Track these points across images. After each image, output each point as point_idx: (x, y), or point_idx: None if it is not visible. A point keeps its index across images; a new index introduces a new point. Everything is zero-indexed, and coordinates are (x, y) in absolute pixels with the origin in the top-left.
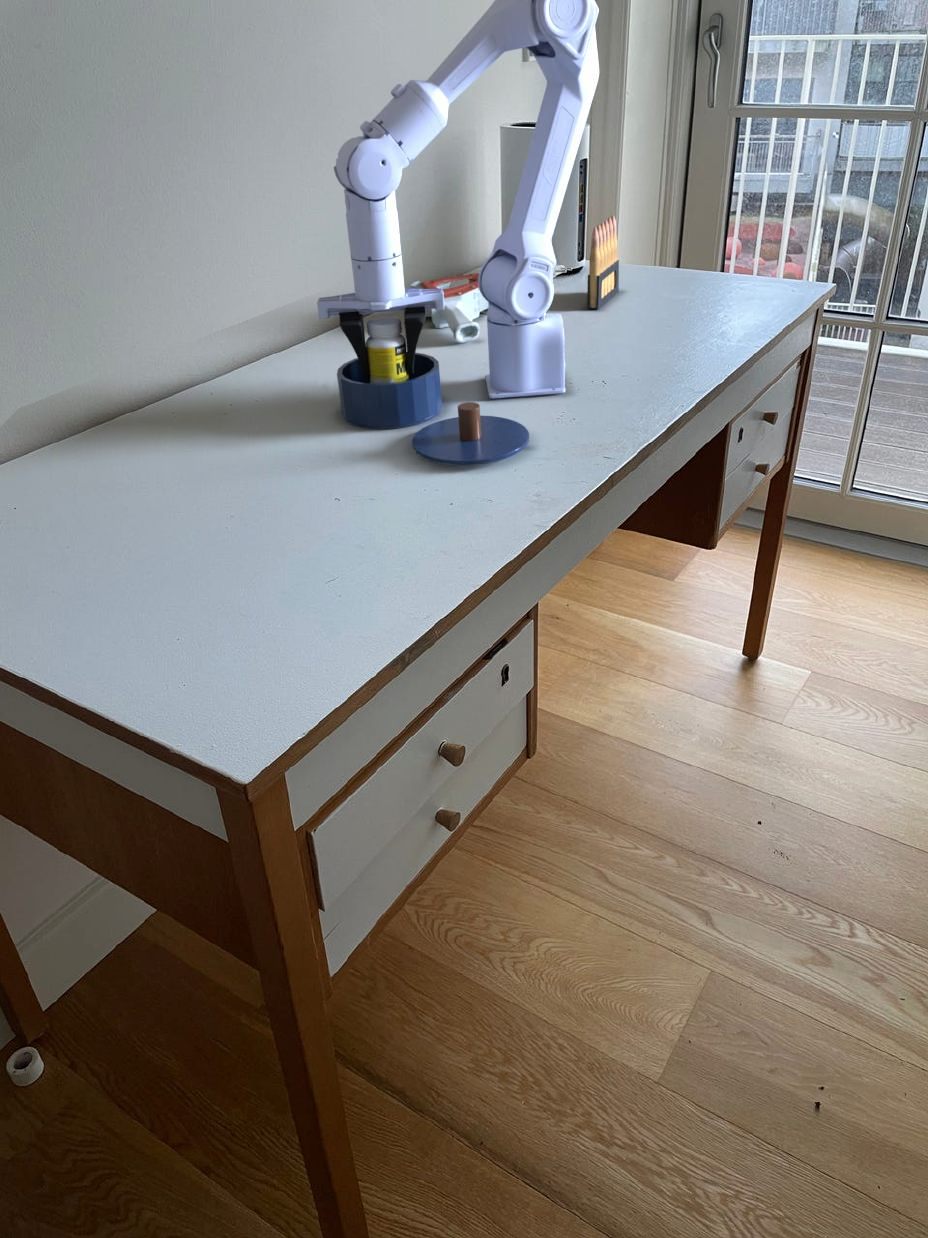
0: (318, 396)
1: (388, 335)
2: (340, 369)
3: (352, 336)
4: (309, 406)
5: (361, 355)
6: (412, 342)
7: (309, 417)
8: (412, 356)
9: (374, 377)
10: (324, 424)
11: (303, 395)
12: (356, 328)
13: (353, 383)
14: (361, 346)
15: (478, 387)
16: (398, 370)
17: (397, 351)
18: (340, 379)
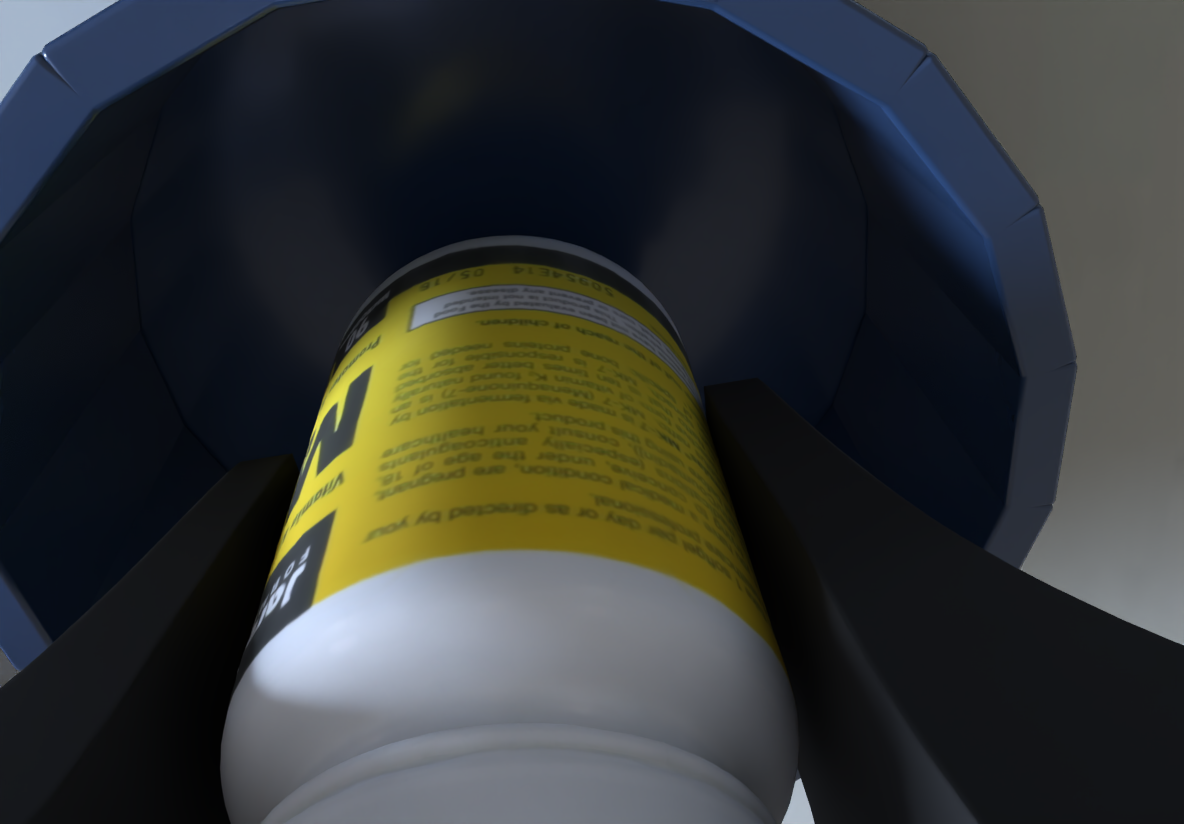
0: (1060, 549)
1: (382, 773)
2: (1030, 487)
3: (1093, 670)
4: (1134, 397)
5: (834, 497)
6: (21, 709)
7: (1155, 194)
8: (141, 569)
9: (641, 343)
10: (1048, 33)
11: (1153, 563)
12: (1096, 792)
13: (881, 22)
14: (861, 574)
15: (18, 672)
16: (347, 403)
17: (299, 572)
18: (1042, 220)
